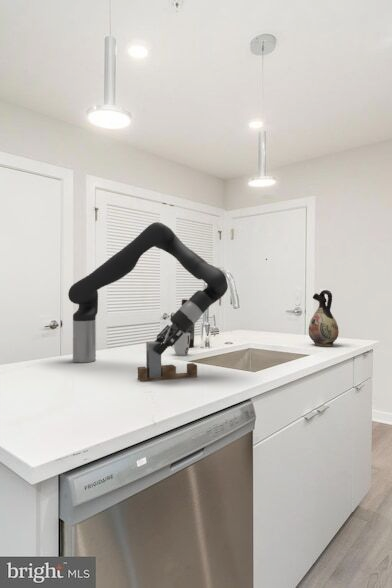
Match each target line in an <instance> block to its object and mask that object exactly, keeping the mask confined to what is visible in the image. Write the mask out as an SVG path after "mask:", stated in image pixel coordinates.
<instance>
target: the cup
mask: <svg viewBox="0 0 392 588" xmlns="http://www.w3.org/2000/svg"><path fill="white" fill-rule="evenodd" d="M182 333H183V332H182ZM189 344H190V333H183V335H182V336H181V337H180V338H179V339H178V340H177V341H176V343H175V344H174V345H173V349H174V352H175V356H178V357H179V356H180V357H181V356H183V357H184V356H188V353H189V349H190V348H189Z"/></svg>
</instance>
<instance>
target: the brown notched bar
mask: <svg viewBox="0 0 392 588" xmlns="http://www.w3.org/2000/svg"><path fill="white" fill-rule="evenodd" d="M197 377H198V365H197V364H196V363H195V362H192V363H189V362H188V363H186V372H177V366H176V365H174V364H164V365H163V364H161V378H149V376H147V368H146V366H138V367H137V380H138V381H139V382H150V381H151V382H152V381H161V380H173V379H185V378H186V379H187V378H197Z"/></svg>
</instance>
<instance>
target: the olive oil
mask: <svg viewBox="0 0 392 588" xmlns="http://www.w3.org/2000/svg"><path fill="white" fill-rule="evenodd" d="M188 300H189V299H187V298H186V299H185V298H184V299H181V306H182V305H183V304H184V303H186V302H187V301H188ZM195 324H196V323H195ZM195 324H194V325H193V326H192V327H191V328H190V329H189V331H188V332H187V333H190V344H189V349H192V348H194V347H195V327H196V326H195Z"/></svg>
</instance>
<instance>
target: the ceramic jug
mask: <svg viewBox="0 0 392 588" xmlns="http://www.w3.org/2000/svg"><path fill="white" fill-rule="evenodd" d="M326 295H327V298H326ZM312 299H313V300H315V301H317V302H318V303H319V304H318V308H317V309H316V311H315V312H314V314H313V315H312V318H311V319H310V321H309V324H308V325H309V326H308V335H309V338H310V339H311V340H312V342H313V343H314V346H316V347H332V346H334V343H335V342H336V341H337V339H338V337H339V325H338V322H337V321H336V319H335V317H334V315H333V314H332V312H331V308H332V302H333V295H332V292H331V291H330V290H327V289H325V290H322V291H320V293H319V294H318V293H317V292H316V293H314V294H313V296H312Z"/></svg>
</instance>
